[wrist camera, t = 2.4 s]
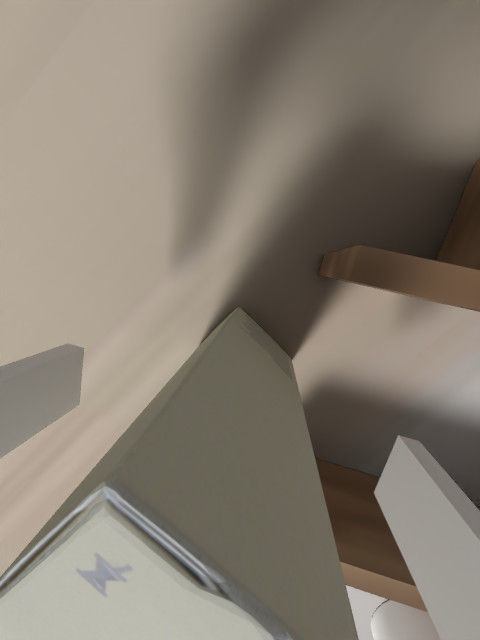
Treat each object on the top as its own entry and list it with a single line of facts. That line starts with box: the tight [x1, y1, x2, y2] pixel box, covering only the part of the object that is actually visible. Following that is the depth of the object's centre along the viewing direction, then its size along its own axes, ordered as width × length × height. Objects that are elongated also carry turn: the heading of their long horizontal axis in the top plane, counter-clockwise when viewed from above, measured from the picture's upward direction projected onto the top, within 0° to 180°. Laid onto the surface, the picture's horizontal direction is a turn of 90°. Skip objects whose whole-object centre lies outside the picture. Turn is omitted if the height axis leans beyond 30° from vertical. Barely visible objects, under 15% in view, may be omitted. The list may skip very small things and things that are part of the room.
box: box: [0, 307, 358, 640], centre depth 10 cm, size 5×4×13 cm
